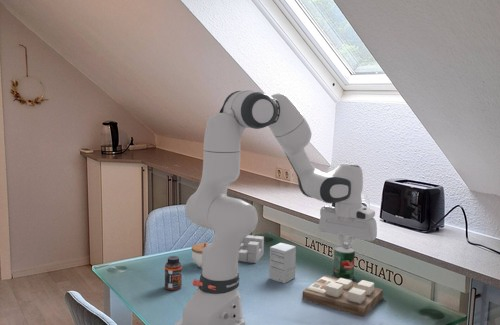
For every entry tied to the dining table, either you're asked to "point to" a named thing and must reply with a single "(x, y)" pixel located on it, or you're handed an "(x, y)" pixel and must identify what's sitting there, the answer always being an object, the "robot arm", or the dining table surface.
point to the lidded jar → (198, 253)
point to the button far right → (366, 286)
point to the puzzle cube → (251, 249)
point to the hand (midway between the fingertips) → (346, 248)
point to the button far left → (345, 283)
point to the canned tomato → (343, 263)
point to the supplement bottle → (173, 273)
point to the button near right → (356, 295)
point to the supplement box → (282, 262)
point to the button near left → (334, 289)
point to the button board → (340, 297)
